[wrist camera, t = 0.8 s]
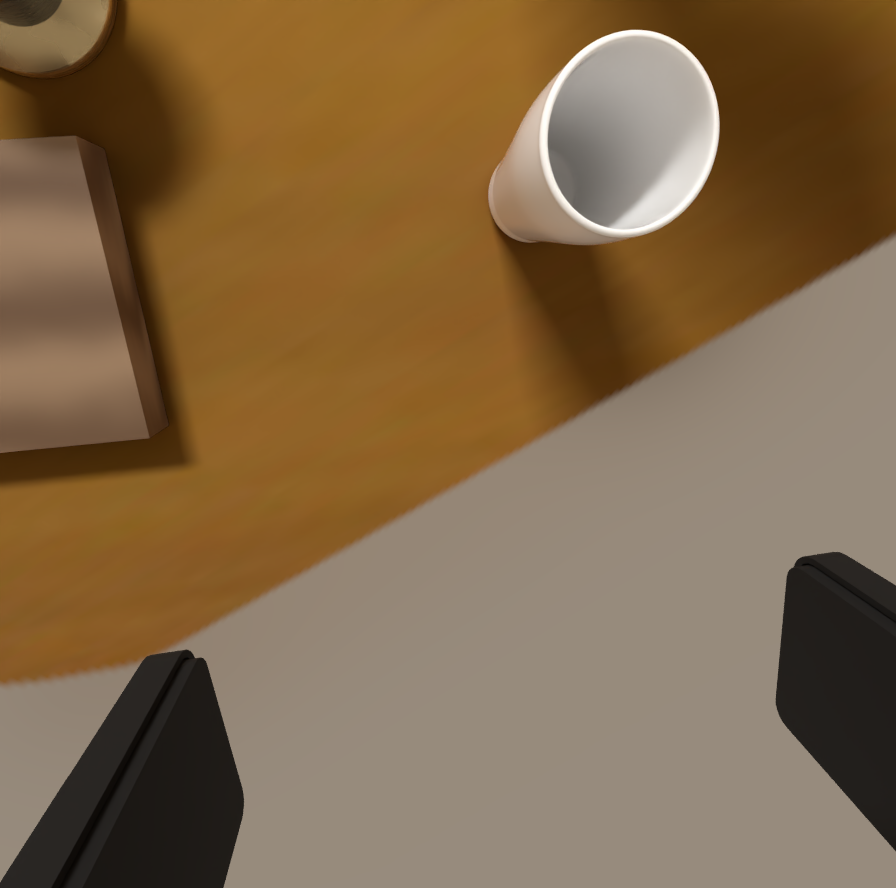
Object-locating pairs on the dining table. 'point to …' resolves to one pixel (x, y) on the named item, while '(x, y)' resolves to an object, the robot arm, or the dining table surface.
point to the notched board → (69, 304)
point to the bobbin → (53, 35)
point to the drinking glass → (609, 145)
